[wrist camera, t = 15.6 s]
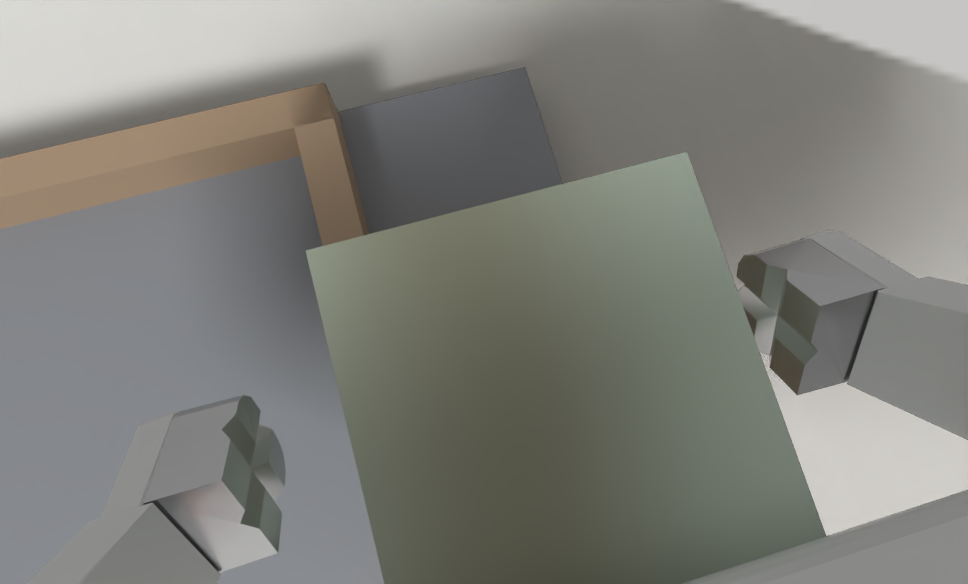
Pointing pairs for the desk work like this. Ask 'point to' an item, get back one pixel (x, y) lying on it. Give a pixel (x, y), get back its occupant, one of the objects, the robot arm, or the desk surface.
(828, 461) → the desk surface
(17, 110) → the desk surface
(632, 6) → the desk surface
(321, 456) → the keyhole dock
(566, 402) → the green peg
